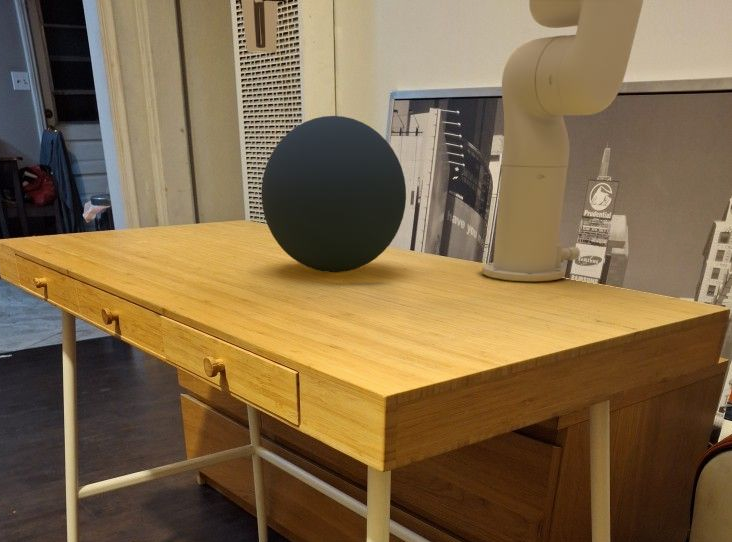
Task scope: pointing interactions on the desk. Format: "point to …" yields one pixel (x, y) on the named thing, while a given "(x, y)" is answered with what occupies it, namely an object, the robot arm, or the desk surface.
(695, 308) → the desk surface
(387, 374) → the desk surface
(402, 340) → the desk surface
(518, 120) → the robot arm
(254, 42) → the milkshake
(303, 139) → the ball
